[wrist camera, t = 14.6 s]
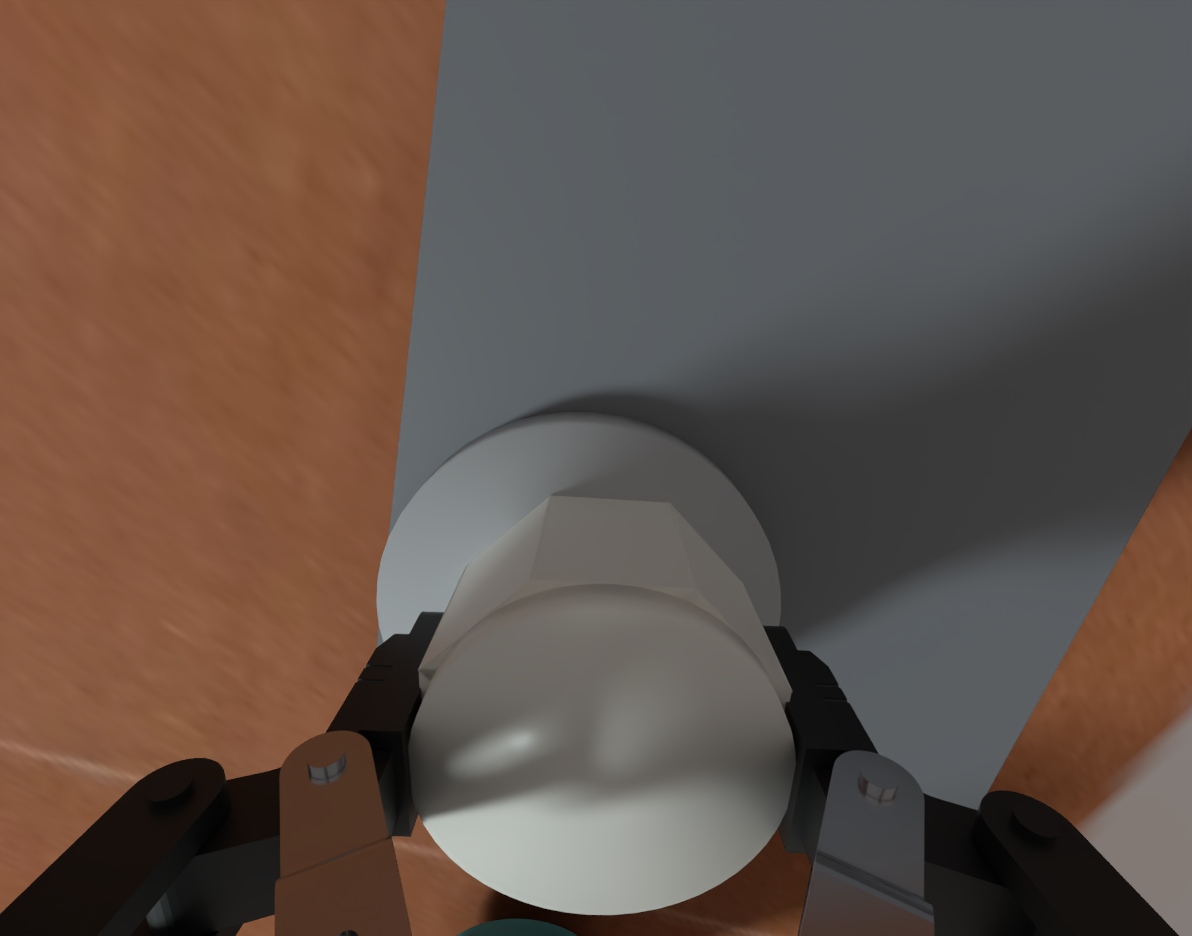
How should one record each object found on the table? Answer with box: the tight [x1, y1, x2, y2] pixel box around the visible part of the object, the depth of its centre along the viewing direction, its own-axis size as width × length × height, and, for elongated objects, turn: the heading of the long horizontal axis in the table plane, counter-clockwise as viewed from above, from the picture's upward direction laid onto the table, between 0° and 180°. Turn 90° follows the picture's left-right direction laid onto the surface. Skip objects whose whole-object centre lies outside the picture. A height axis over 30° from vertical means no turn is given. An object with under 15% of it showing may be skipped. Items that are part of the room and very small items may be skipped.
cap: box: [408, 495, 796, 915], centre depth 12 cm, size 6×6×4 cm
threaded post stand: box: [377, 0, 1192, 810], centre depth 13 cm, size 20×18×6 cm
